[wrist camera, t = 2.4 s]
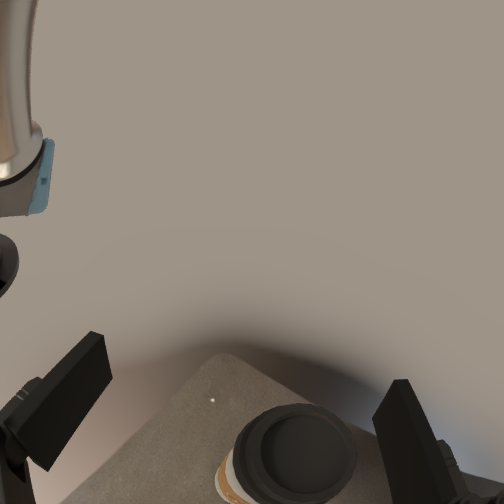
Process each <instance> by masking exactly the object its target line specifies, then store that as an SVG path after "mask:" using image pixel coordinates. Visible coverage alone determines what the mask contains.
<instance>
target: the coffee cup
mask: <svg viewBox="0 0 504 504" xmlns="http://www.w3.org/2000/svg"><path fill="white" fill-rule="evenodd" d="M356 458H357V452H356V446H355V442H354V439H353V437H352V434H351V432H350V431H349V429H348V428H347V427H346V425H345V424H344V422H343V421H341V420H340V419H339V418H338V417H337V416H336V415H335V414H333V413H331V412H329V411H328V410H326V409H324V408H322V407H318V406H315V405H312V404H301V403H297V404H290V405H285V406H278V407H275V408H272V409H270V410H267V411H265V412H263V413H262V414H261V415H259V416H257V417H256V418H255V419H253V420H252V421H251V422H249V423H248V424H247V425H246V426H245V427H244V429H243V430H242V431H241V433H240V434H239V435H238V437H237V440H236V443H235V445H234V447H233V448H232V449H231V450H230V452H229V453H228V454H227V456H226V457H225V459H224V460H223V461H222V463H221V465H220V467H219V468H218V470H217V472H216V475H215V486H216V489H217V491H218V493H219V494H220V496H221V497H222V498H223V499H224V500H225V501H227V502H229V503H231V504H324V503H326V502H328V501H329V500H330V499H332V498H333V497H335V496H336V495H337V494H338V493H339V492H340V491H341V489H343V487H344V486H345V485H346V484H347V482H348V481H349V480H350V479H351V476H352V474H353V472H354V469H355V466H356Z"/></svg>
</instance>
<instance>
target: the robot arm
mask: <svg viewBox="0 0 504 504" xmlns="http://www.w3.org/2000/svg"><path fill="white" fill-rule="evenodd" d="M38 1H39V0H0V217H8V216H21V215H25V216H28V215H29V214H36V213H41V212H43V211H44V210H45V209H46V207H47V204H48V197H49V189H50V180H51V171H52V163H53V154H54V145H55V144H54V141H53V140H51V139H48V138H45V139H44V140H43V135H42V130H41V128H40V126H39V125H38V124H37V123H36V122H35V121H33V120H31V104H30V103H31V102H30V68H31V51H32V40H33V31H34V24H35V17H36V11H37V6H38ZM1 261H2V255H1V251H0V265H1ZM111 380H112V373H111V369H110V364H109V360H108V355H107V350H106V346H105V340H104V335H101V334H98V333H96V332H92V331H90V332H89V333H88V334H87V335H86V336H85V337H84V338H83V339H82V340H81V341H80V342H79V343H78V344H77V345H76V346H75V347H74V348H73V349H72V350H71V351H70V352H69V353H68V354H67V355H66V356H65V357H64V358H63V359H62V360H61V361H60V362H59V363H58V364H57V365H56V366H55V367H54V368H53V369H52V370H51V371H50V372H49V373H48V374H47V375H46V376H45V377H44V378H43V379H41V378H39V377H36V378H34V379H32V380H30V381H28V382H27V383H26V384H25V385H24V386H23V387H22V388H21V390H19V392H17V394H16V396H14V397H13V398H12V399H11V400H10V401H9V402H8V403H7V404H6V405H5V406H4V407H3V409H2V410H1V411H0V504H36V502H35V498H34V494H33V489H32V484H31V479H30V473H29V467H28V462H27V460H26V458H27V457H28V456H29V457H30V458H31V459H32V461H33V462H34V463H35V464H37V465H38V466H40V467H41V468H43V469H44V470H46V471H47V472H48V471H49V470H50V468H51V467H52V465H53V464H54V462H55V461H56V459H57V457H58V456H59V454H60V453H61V451H62V450H63V448H64V447H65V445H66V444H67V442H68V441H69V439H70V438H71V437H72V435H73V434H74V432H75V431H76V429H77V428H78V426H79V425H80V423H81V422H82V421H83V419H84V418H85V416H86V415H87V413H88V412H89V410H90V409H91V408H92V406H93V405H94V403H95V402H96V401H97V399H98V398H99V396H100V395H101V394H102V392H103V391H104V390H105V388H106V387H107V385H108V384H109V383H110V381H111ZM372 421H373V424H374V427H375V431H376V435H377V438H378V442H379V446H380V449H381V453H382V457H383V461H384V465H385V469H386V473H387V478H388V482H389V486H390V491H391V495H392V500H393V504H504V490H502V491H501V492H500V493H498V494H497V495H496V496H494V497H487V498H480V497H479V496H478V495H476V494H470V493H469V492H468V490H467V488H466V485H465V482H464V480H463V477H462V475H461V472H460V470H459V467H458V465H457V462H456V460H455V458H454V455H453V453H452V450H451V448H450V446H449V445H448V444H447V443H445V441H444V440H438V441H437V440H436V438H435V436H434V434H433V432H432V429H431V427H430V425H429V422H428V420H427V418H426V416H425V414H424V412H423V409H422V407H421V405H420V403H419V401H418V399H417V397H416V395H415V393H414V391H413V389H412V387H411V385H410V383H409V381H408V379H399V380H394V381H393V383H392V385H391V386H390V388H389V390H388V392H387V394H386V396H385V397H384V399H383V401H382V403H381V404H380V406H379V408H378V409H377V411H376V413H375V414H374V416H373V417H372Z"/></svg>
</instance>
